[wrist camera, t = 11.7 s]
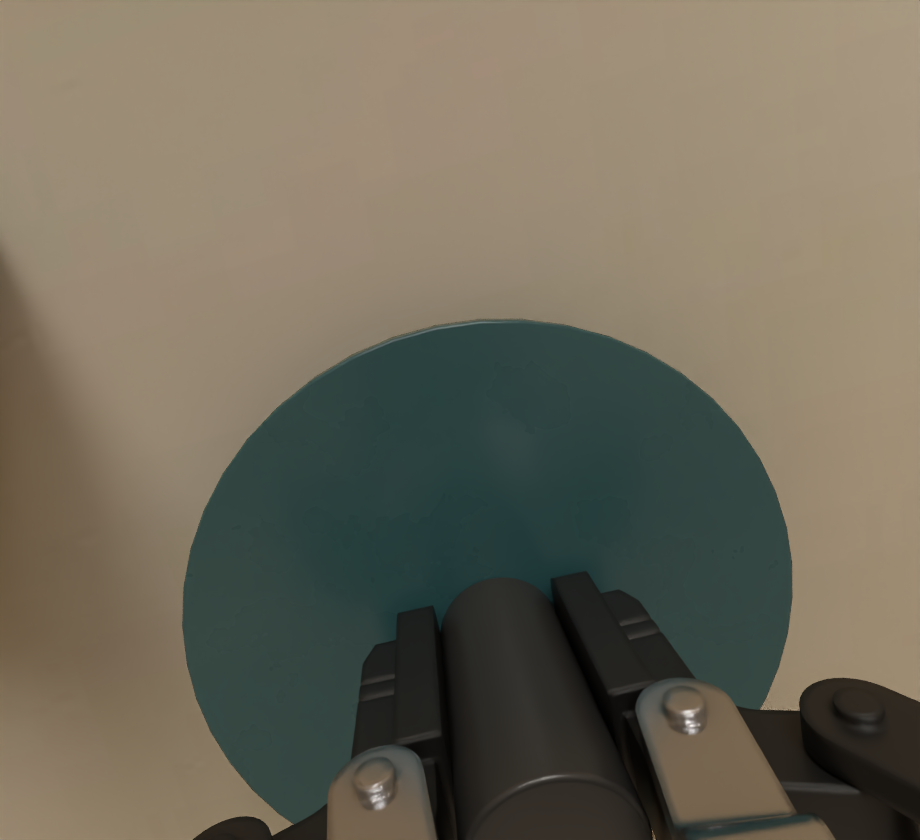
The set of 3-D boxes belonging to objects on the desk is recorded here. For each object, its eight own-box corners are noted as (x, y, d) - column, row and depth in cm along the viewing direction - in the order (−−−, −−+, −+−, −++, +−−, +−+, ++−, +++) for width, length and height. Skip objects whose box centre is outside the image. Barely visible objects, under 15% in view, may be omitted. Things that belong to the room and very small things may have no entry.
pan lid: (118, 389, 12) (-190, 498, 6) (737, 259, 12) (1057, 232, 6) (288, 887, 14) (202, 1309, 8) (783, 768, 15) (1033, 1090, 9)
